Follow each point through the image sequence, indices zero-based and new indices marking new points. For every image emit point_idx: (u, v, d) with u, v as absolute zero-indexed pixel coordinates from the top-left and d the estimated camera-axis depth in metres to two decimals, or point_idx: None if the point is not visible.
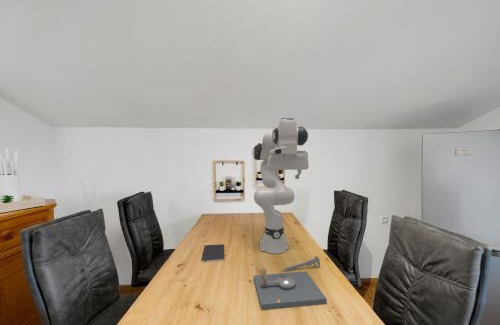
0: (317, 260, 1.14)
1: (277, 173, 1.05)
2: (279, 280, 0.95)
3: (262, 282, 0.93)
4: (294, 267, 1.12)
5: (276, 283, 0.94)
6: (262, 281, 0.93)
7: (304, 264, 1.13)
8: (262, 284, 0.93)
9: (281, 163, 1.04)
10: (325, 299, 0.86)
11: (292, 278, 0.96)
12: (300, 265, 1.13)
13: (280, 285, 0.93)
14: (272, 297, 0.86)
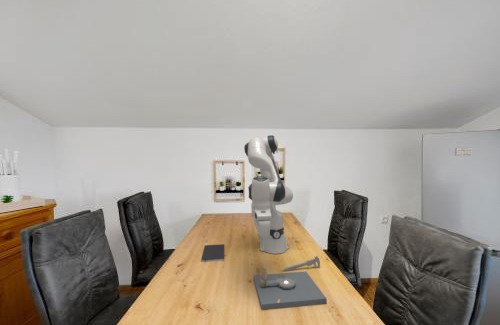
0: (317, 260, 1.14)
1: None
2: (279, 280, 0.95)
3: (262, 282, 0.93)
4: (294, 267, 1.12)
5: (276, 283, 0.94)
6: (262, 281, 0.93)
7: (304, 264, 1.13)
8: (262, 284, 0.93)
9: None
10: (325, 299, 0.86)
11: (292, 278, 0.96)
12: (300, 265, 1.12)
13: (280, 285, 0.93)
14: (272, 297, 0.86)
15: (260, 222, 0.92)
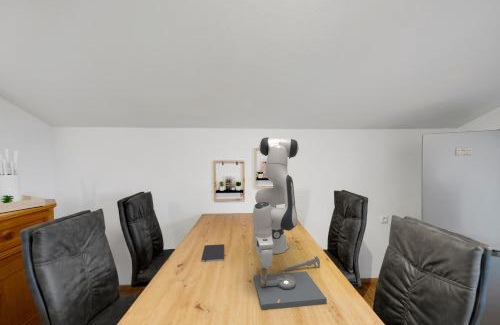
0: (317, 260, 1.14)
1: None
2: (279, 280, 0.95)
3: (262, 282, 0.93)
4: (294, 267, 1.12)
5: (276, 283, 0.94)
6: (262, 281, 0.93)
7: (304, 264, 1.13)
8: (262, 284, 0.93)
9: None
10: (325, 299, 0.86)
11: (292, 278, 0.96)
12: (300, 265, 1.12)
13: (280, 285, 0.93)
14: (272, 297, 0.86)
15: (262, 251, 0.92)
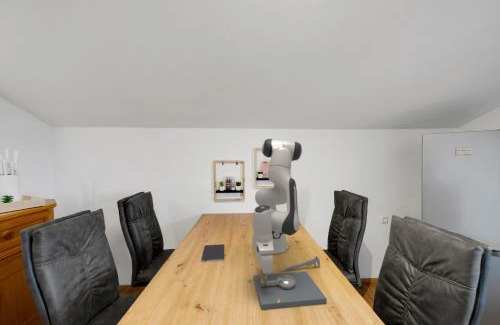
0: (317, 260, 1.14)
1: None
2: (279, 280, 0.95)
3: (262, 282, 0.93)
4: (294, 267, 1.12)
5: (276, 283, 0.94)
6: (262, 281, 0.93)
7: (304, 264, 1.13)
8: (262, 284, 0.93)
9: None
10: (325, 299, 0.86)
11: (292, 278, 0.96)
12: (300, 265, 1.12)
13: (280, 285, 0.93)
14: (272, 297, 0.86)
15: (262, 257, 0.89)
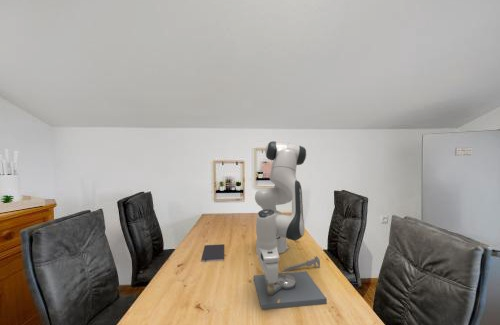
0: (317, 260, 1.14)
1: None
2: (282, 282, 0.93)
3: (271, 290, 0.88)
4: (294, 267, 1.12)
5: (281, 286, 0.92)
6: (271, 289, 0.88)
7: (304, 264, 1.13)
8: (271, 292, 0.88)
9: None
10: (325, 299, 0.86)
11: (289, 276, 0.98)
12: (300, 265, 1.12)
13: (285, 287, 0.92)
14: (272, 297, 0.86)
15: (267, 266, 0.83)
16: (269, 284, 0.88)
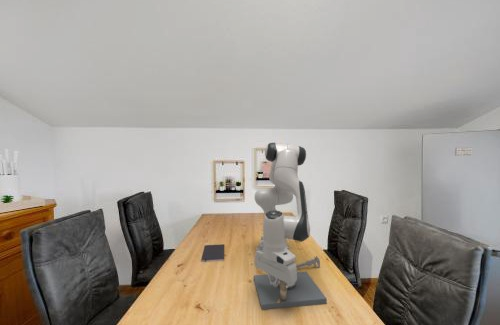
0: (317, 260, 1.14)
1: (278, 279, 0.89)
2: (286, 283, 0.92)
3: (285, 294, 0.85)
4: None
5: (287, 287, 0.91)
6: (285, 293, 0.85)
7: (304, 264, 1.13)
8: (285, 296, 0.85)
9: None
10: (325, 299, 0.86)
11: None
12: (300, 265, 1.12)
13: (290, 286, 0.92)
14: (272, 297, 0.86)
15: (288, 267, 0.81)
16: (283, 288, 0.85)
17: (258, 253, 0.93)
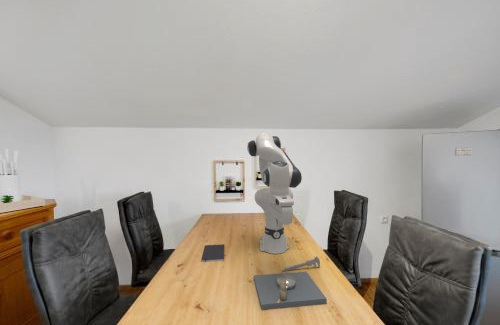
0: (317, 260, 1.14)
1: (282, 222, 0.98)
2: None
3: (285, 294, 0.85)
4: (294, 267, 1.12)
5: (287, 287, 0.91)
6: (285, 293, 0.85)
7: (304, 264, 1.13)
8: (285, 296, 0.85)
9: None
10: (325, 299, 0.86)
11: (286, 275, 0.99)
12: (300, 265, 1.12)
13: (290, 286, 0.92)
14: (272, 297, 0.86)
15: (283, 208, 0.89)
16: (283, 288, 0.85)
17: (270, 199, 1.05)
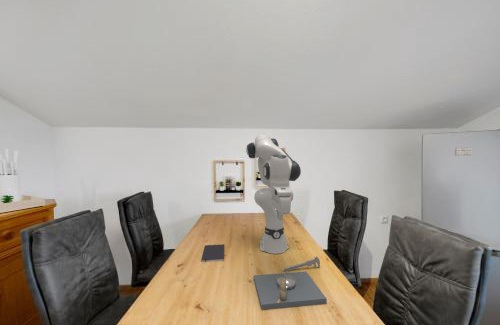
0: (317, 260, 1.14)
1: (282, 213, 0.99)
2: None
3: (285, 294, 0.85)
4: (294, 267, 1.12)
5: (287, 287, 0.91)
6: (285, 293, 0.85)
7: (304, 264, 1.13)
8: (285, 296, 0.85)
9: None
10: (325, 299, 0.86)
11: (286, 275, 0.99)
12: (300, 265, 1.12)
13: (290, 286, 0.92)
14: (272, 297, 0.86)
15: (281, 198, 0.92)
16: (283, 288, 0.85)
17: None
